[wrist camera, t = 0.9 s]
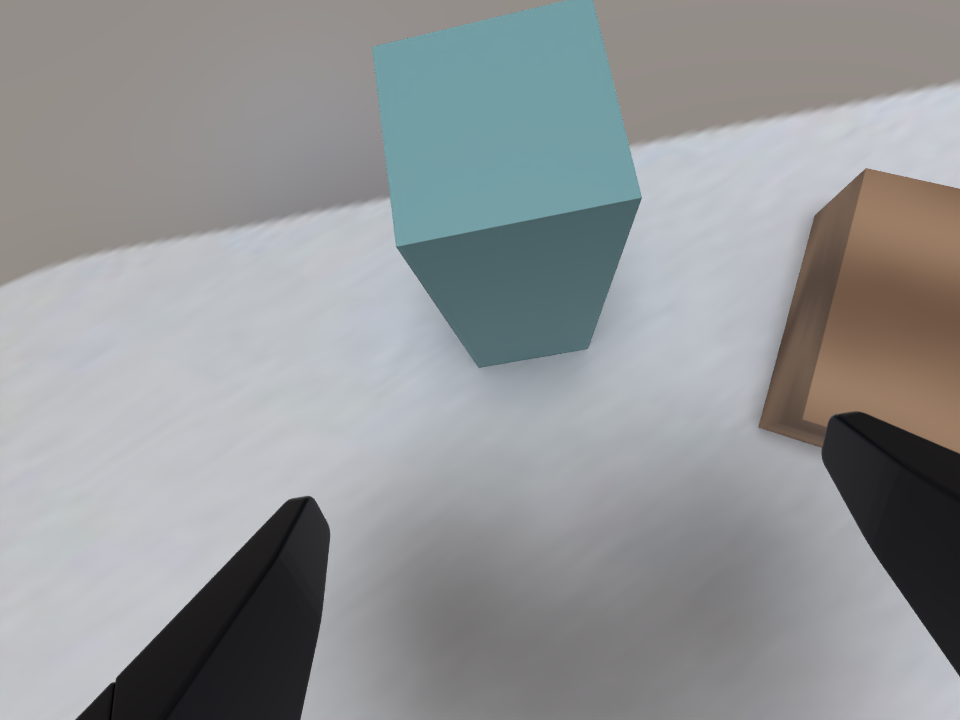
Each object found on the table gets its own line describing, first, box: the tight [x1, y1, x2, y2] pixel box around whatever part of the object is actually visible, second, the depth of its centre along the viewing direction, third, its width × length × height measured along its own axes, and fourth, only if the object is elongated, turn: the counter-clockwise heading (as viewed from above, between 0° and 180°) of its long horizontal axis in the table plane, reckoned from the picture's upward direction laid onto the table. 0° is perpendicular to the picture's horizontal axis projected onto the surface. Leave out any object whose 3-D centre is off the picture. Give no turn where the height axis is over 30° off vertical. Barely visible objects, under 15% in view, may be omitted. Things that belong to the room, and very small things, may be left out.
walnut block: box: [759, 168, 960, 453], centre depth 19 cm, size 10×10×4 cm
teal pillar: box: [372, 0, 642, 368], centre depth 17 cm, size 5×5×13 cm
